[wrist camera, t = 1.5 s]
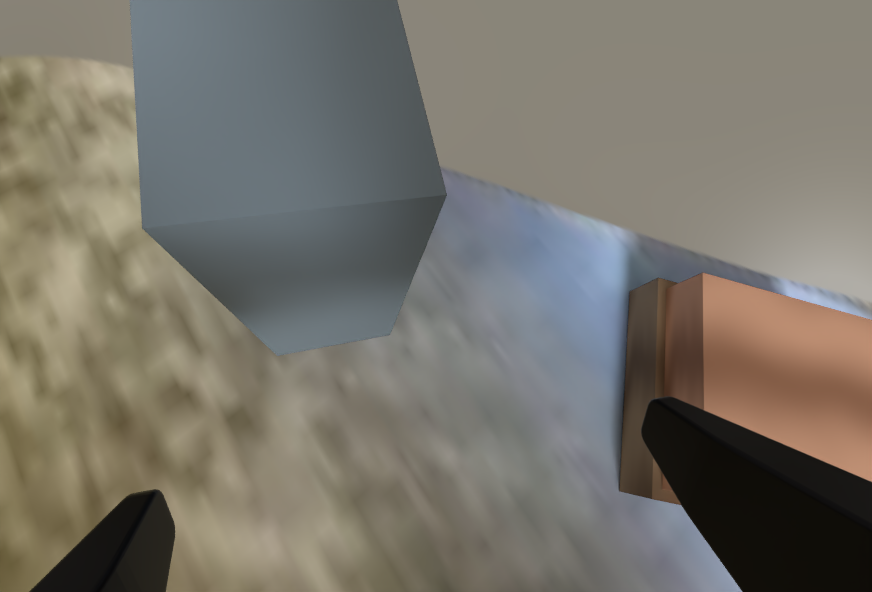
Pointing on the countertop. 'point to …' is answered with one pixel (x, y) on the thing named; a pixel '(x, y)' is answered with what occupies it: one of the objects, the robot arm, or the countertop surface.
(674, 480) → the robot arm
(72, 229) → the countertop surface
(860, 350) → the brown stepped block
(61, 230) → the countertop surface
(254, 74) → the column brick
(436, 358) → the countertop surface
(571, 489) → the countertop surface
